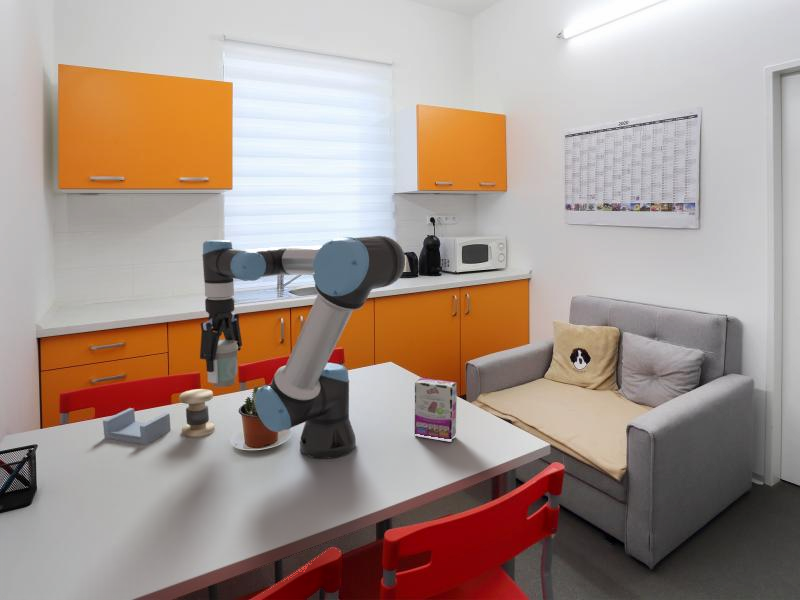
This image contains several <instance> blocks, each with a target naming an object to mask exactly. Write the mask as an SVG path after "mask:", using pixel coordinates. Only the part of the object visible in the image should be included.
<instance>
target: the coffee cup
mask: <svg viewBox="0 0 800 600" xmlns="http://www.w3.org/2000/svg"><path fill="white" fill-rule="evenodd" d="M236 342H237V341H235V340H227V339H225V338H219V342H218V346H217V351H216V355H215V359H217V368H218V383H212V386H213V387H216V388H227V387H231V386H233V385H235V383H236V382H235V381H236V374H235V372H236V360H237V361H238V351H237V350H238V345H237V343H236Z"/></svg>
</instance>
